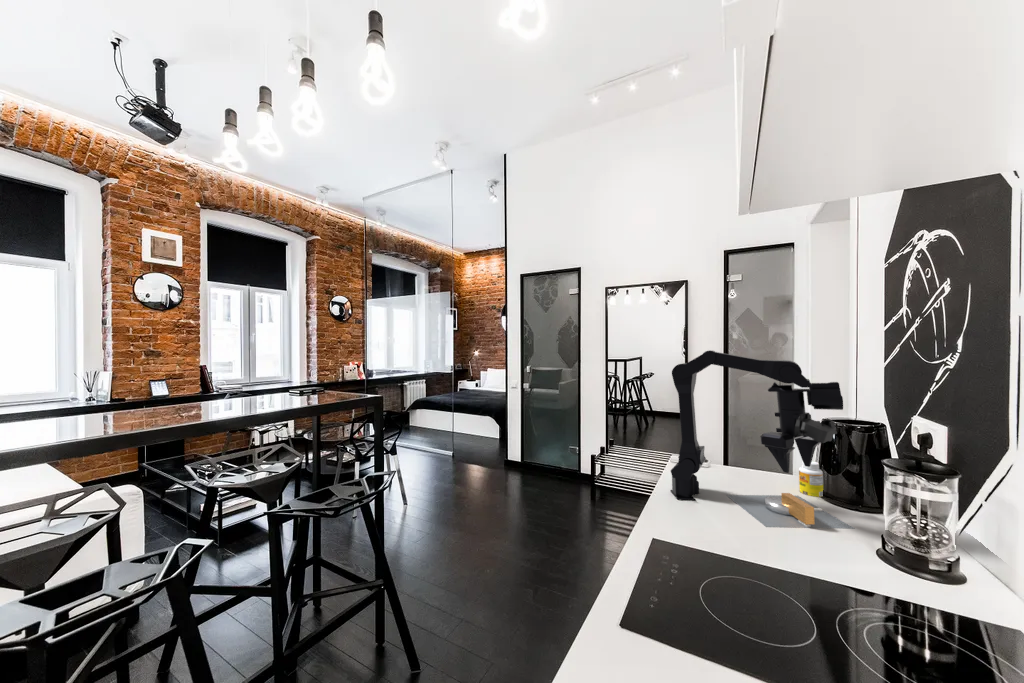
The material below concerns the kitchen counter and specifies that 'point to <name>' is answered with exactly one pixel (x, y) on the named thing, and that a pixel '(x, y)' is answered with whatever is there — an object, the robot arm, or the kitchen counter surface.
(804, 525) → the board
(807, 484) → the supplement bottle
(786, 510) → the dial
